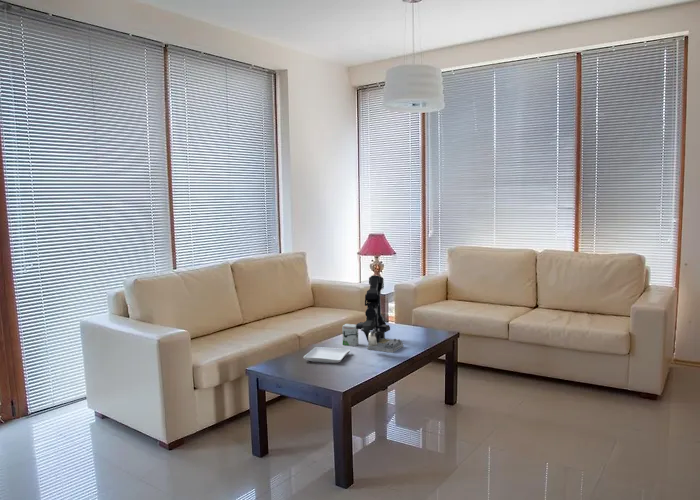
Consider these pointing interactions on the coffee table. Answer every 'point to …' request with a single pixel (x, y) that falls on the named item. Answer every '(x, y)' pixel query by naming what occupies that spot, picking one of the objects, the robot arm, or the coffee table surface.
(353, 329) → the ink box
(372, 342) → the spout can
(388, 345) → the gearbox
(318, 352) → the salad plate
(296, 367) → the coffee table surface
